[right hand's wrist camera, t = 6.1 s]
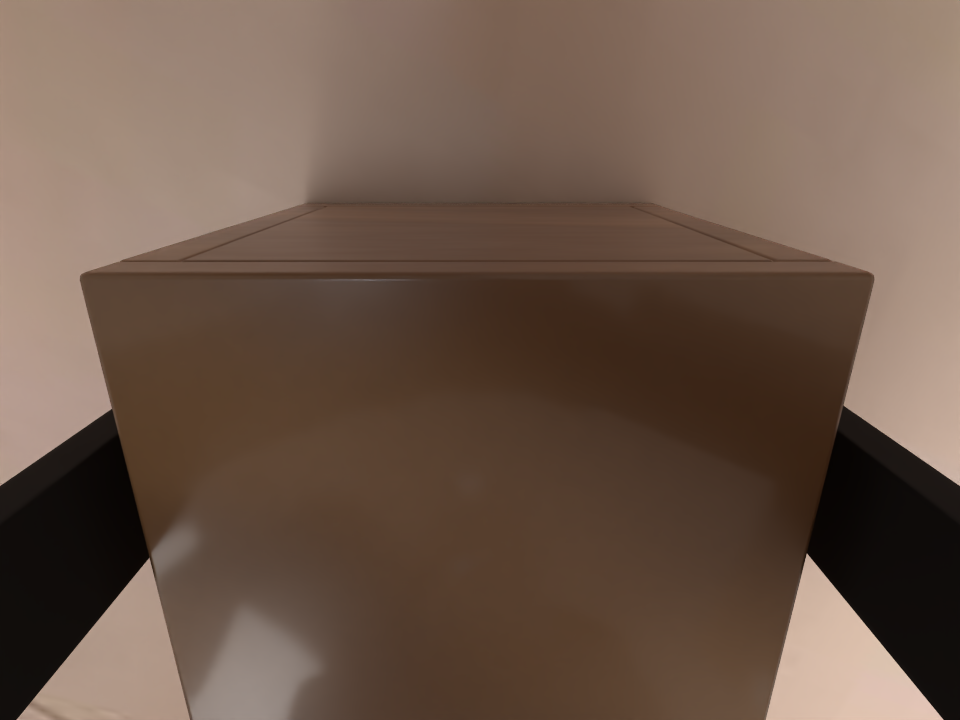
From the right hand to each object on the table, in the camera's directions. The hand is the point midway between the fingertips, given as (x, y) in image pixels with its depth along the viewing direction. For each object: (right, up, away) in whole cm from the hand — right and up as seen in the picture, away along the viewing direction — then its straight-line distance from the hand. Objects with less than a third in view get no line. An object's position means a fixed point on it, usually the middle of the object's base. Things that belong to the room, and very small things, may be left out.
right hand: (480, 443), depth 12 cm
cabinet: (0, -3, +9) cm, 9 cm away
